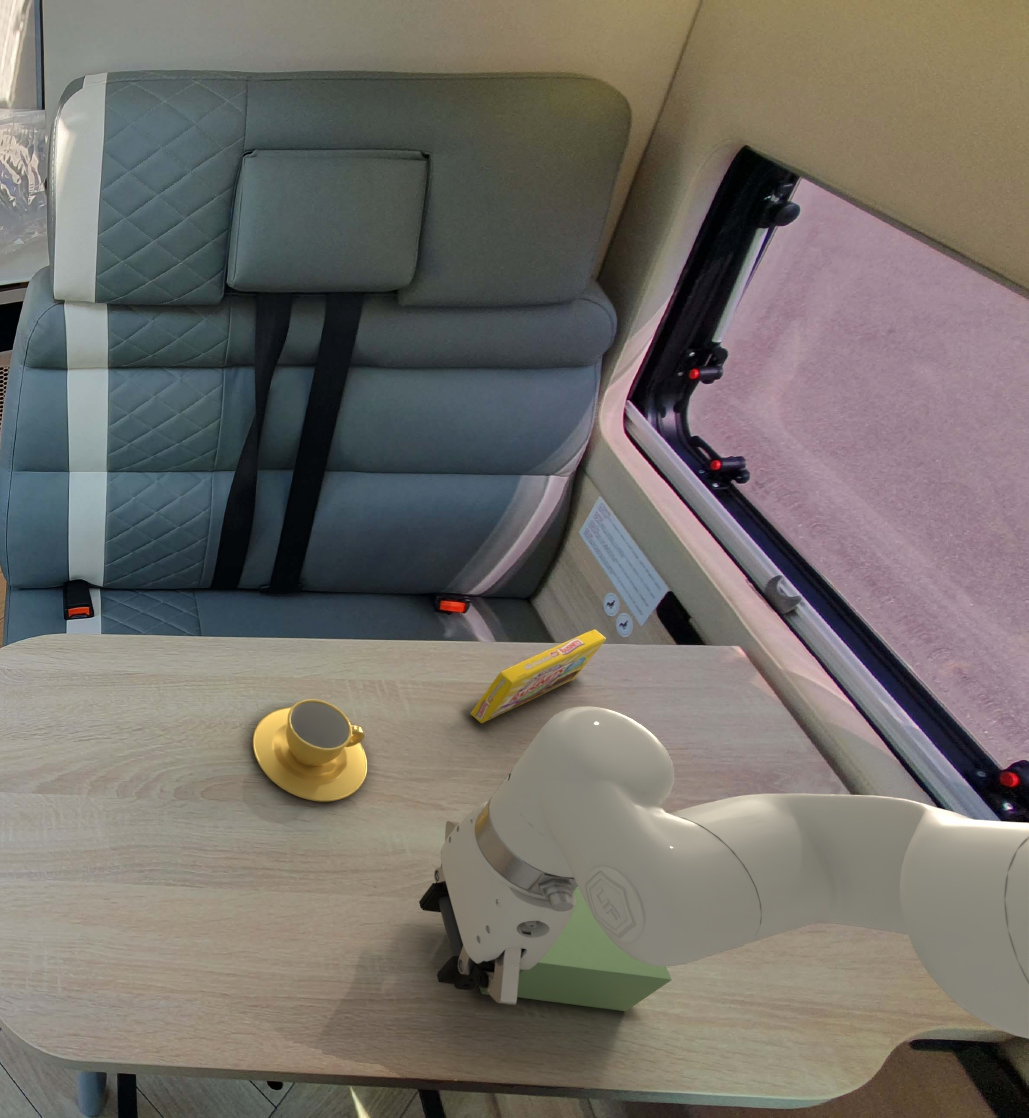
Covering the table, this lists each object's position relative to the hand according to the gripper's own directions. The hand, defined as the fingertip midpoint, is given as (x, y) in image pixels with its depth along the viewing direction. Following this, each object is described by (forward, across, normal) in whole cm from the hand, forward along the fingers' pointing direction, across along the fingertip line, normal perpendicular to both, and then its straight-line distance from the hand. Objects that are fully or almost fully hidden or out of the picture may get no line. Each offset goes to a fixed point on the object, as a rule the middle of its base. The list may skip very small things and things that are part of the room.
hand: (446, 942), depth 71 cm
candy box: (+2, +30, -17) cm, 35 cm away
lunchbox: (-2, 0, -14) cm, 15 cm away
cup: (+2, +20, +9) cm, 22 cm away
